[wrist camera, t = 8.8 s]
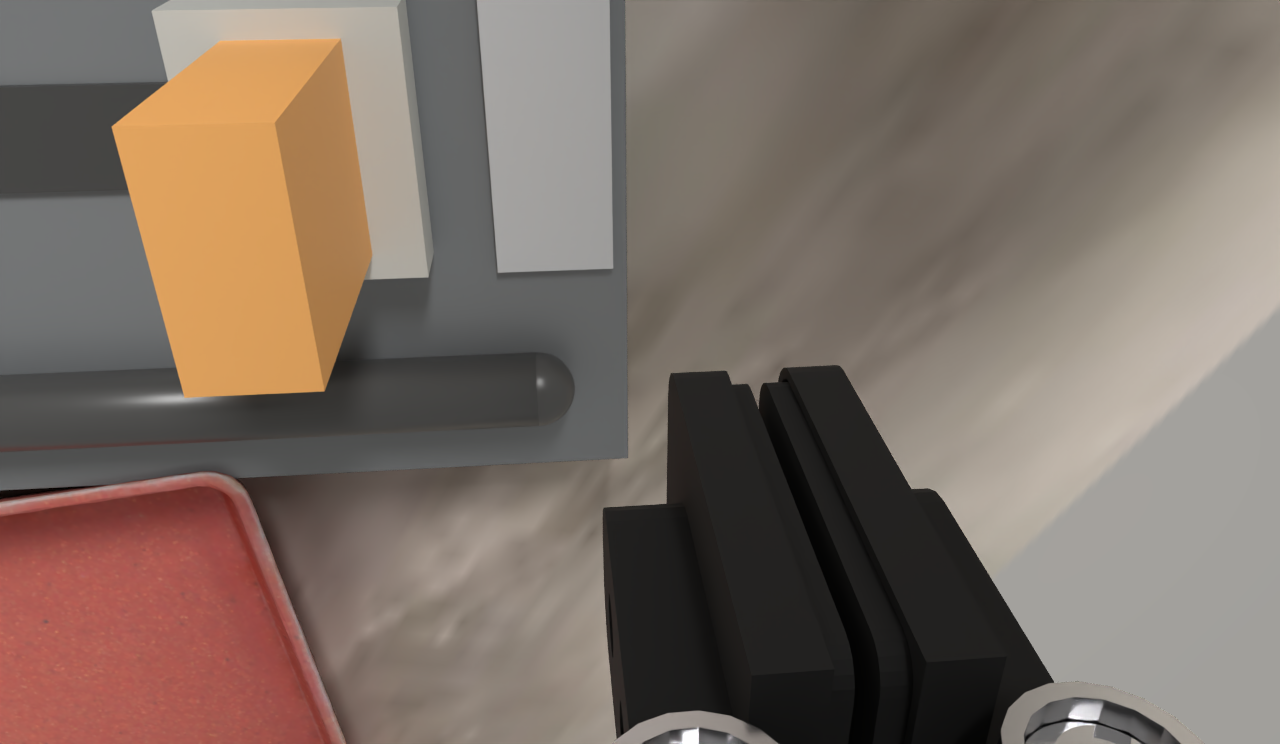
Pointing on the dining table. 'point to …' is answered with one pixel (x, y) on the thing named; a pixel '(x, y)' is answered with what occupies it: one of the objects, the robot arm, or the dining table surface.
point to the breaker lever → (275, 183)
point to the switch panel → (385, 308)
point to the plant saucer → (151, 620)
